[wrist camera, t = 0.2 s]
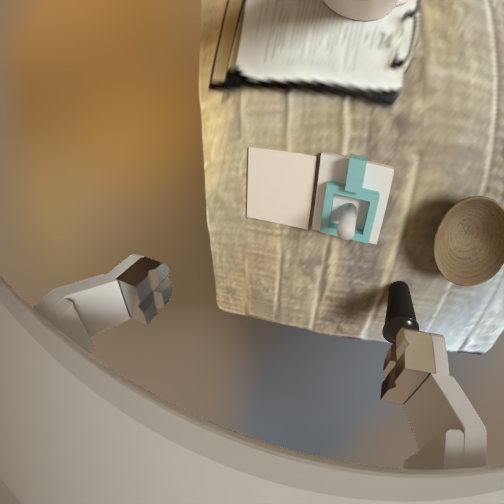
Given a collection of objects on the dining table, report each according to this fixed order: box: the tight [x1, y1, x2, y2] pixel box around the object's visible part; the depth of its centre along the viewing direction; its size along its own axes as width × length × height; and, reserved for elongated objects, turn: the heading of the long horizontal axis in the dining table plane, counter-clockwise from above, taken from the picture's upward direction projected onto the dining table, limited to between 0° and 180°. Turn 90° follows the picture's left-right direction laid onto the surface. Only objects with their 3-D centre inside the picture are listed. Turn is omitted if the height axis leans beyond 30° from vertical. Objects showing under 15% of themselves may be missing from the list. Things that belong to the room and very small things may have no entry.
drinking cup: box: [383, 281, 419, 344], centre depth 49 cm, size 8×8×20 cm
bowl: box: [433, 196, 504, 286], centre depth 41 cm, size 18×18×8 cm
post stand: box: [311, 152, 394, 244], centre depth 47 cm, size 16×14×12 cm
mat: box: [247, 147, 317, 230], centre depth 57 cm, size 16×14×1 cm
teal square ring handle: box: [320, 154, 380, 244], centre depth 48 cm, size 16×10×4 cm, turn 177°
